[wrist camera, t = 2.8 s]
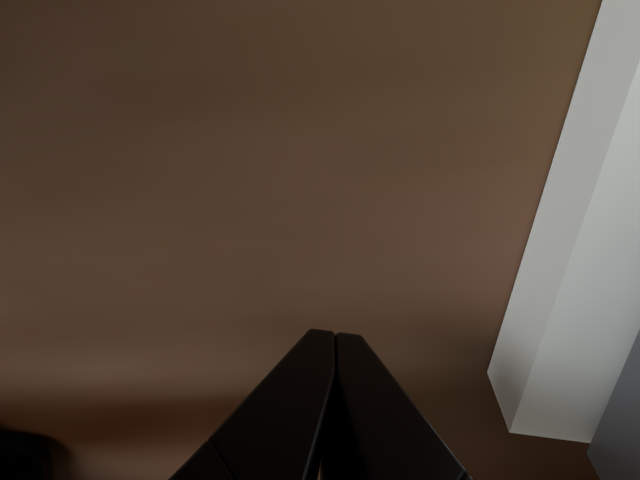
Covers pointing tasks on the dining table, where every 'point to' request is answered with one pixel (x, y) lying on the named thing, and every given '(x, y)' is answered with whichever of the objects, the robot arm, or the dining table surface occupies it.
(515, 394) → the breaker panel
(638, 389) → the block
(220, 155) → the dining table surface
